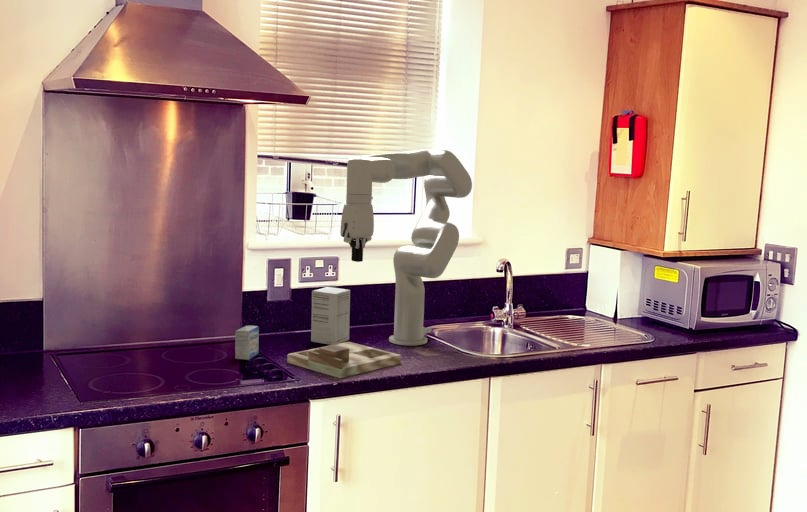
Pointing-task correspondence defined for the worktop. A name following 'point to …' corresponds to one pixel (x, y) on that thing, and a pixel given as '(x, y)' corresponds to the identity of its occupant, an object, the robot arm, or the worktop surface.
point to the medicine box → (246, 342)
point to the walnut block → (336, 352)
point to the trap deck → (335, 366)
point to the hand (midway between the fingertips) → (357, 261)
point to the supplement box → (330, 315)
